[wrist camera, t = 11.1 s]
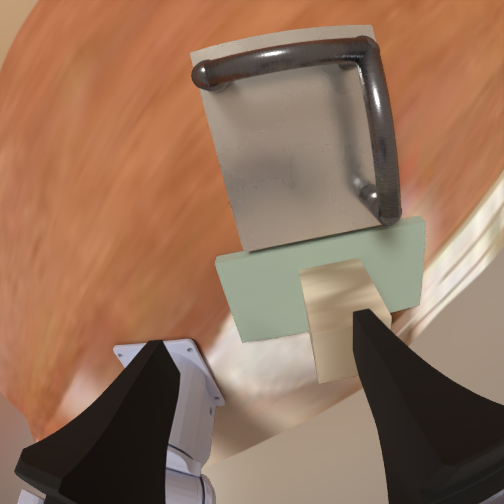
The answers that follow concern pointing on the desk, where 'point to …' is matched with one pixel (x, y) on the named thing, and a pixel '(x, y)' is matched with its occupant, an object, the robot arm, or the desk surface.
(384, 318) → the maple block
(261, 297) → the pad
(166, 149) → the desk surface
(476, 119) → the desk surface
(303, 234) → the beige flat handled piece
